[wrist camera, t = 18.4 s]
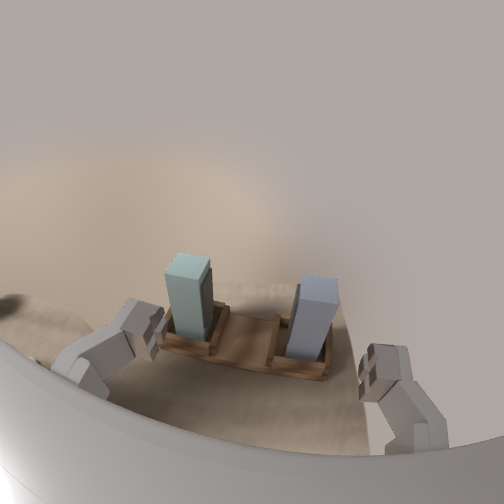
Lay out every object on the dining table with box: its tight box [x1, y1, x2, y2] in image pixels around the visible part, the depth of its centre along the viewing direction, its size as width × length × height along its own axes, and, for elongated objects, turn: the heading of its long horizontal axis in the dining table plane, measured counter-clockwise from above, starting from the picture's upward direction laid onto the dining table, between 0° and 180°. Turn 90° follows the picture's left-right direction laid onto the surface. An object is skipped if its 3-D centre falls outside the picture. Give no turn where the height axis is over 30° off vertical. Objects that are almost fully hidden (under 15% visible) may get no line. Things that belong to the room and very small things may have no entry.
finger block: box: [285, 274, 338, 362], centre depth 41 cm, size 5×5×14 cm
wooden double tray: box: [159, 301, 332, 381], centre depth 46 cm, size 28×10×4 cm, turn 79°
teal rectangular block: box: [165, 252, 214, 342], centre depth 44 cm, size 5×5×14 cm
